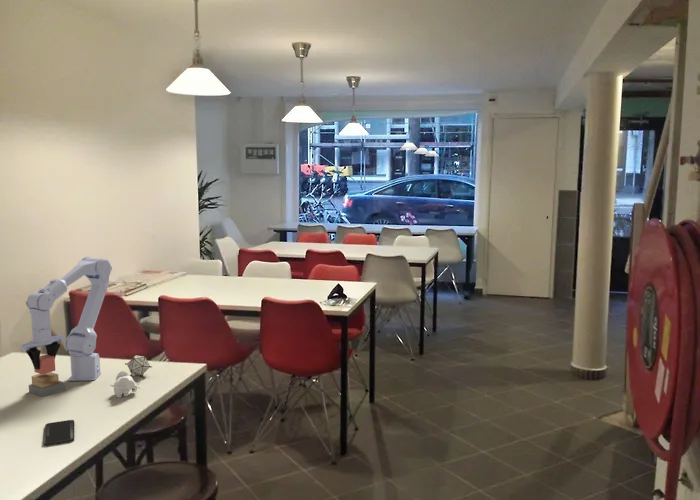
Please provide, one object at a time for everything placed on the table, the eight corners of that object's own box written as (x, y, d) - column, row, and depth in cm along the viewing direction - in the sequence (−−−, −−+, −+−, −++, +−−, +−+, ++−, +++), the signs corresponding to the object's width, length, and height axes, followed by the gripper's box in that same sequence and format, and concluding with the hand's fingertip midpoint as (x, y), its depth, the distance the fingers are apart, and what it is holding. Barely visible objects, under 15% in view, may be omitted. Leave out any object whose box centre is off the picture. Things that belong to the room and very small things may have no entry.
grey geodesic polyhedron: (144, 384, 231) (160, 362, 231) (130, 383, 223) (147, 361, 223) (130, 369, 234) (146, 348, 234) (115, 368, 226) (132, 346, 226)
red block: (47, 368, 216) (46, 354, 215) (55, 370, 213) (54, 356, 213) (34, 372, 212) (33, 357, 211) (42, 374, 209) (41, 360, 209)
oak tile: (48, 379, 218) (48, 371, 217) (58, 382, 214) (58, 374, 214) (32, 384, 213) (31, 376, 212) (42, 387, 209) (41, 379, 209)
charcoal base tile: (51, 386, 219) (50, 378, 219) (64, 390, 215) (64, 382, 215) (29, 393, 213) (28, 385, 212) (43, 398, 208) (42, 389, 208)
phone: (74, 419, 188) (74, 439, 174) (74, 422, 188) (74, 442, 174) (45, 423, 185) (42, 444, 171) (45, 427, 185) (43, 448, 171)
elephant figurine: (141, 396, 209) (140, 375, 208) (110, 400, 205) (109, 379, 204) (139, 388, 216) (138, 368, 215) (109, 392, 212) (108, 372, 211)
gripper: (27, 334, 202) (30, 374, 204) (68, 324, 215) (70, 362, 216) (15, 331, 206) (18, 371, 208) (55, 322, 218) (58, 359, 220)
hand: (44, 366), depth 212 cm, fingers closed on red block, 5 cm apart
